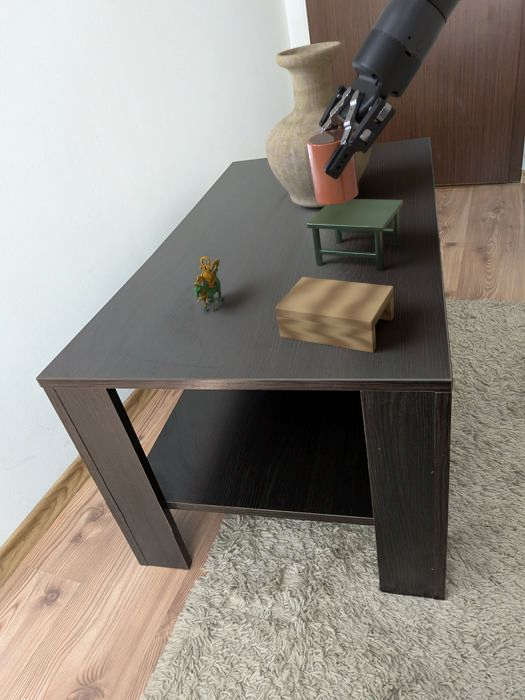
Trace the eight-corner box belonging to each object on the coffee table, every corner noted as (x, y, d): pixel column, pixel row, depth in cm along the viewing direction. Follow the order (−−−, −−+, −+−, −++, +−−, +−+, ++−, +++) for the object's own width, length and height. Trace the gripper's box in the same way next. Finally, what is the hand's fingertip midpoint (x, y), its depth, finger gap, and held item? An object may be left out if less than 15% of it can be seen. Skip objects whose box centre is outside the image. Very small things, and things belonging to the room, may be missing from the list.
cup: (367, 190, 70) (362, 130, 65) (336, 208, 68) (327, 147, 63) (337, 184, 74) (330, 127, 70) (307, 200, 72) (297, 142, 67)
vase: (397, 196, 109) (393, 34, 92) (307, 230, 103) (285, 63, 86) (338, 175, 126) (325, 36, 109) (258, 204, 120) (232, 60, 103)
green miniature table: (403, 243, 91) (403, 199, 86) (383, 272, 84) (382, 227, 79) (336, 239, 97) (332, 198, 93) (312, 266, 90) (306, 223, 85)
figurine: (194, 321, 82) (181, 276, 77) (217, 283, 91) (206, 241, 86) (212, 321, 81) (199, 275, 76) (233, 283, 90) (223, 240, 86)
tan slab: (394, 316, 73) (393, 286, 70) (373, 352, 67) (371, 321, 64) (306, 304, 80) (302, 276, 77) (280, 337, 74) (274, 308, 71)
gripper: (352, 24, 66) (283, 143, 73) (403, 28, 55) (316, 169, 61) (392, 58, 70) (324, 169, 76) (449, 69, 58) (362, 198, 65)
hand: (321, 168), depth 69 cm, fingers closed on cup, 6 cm apart
